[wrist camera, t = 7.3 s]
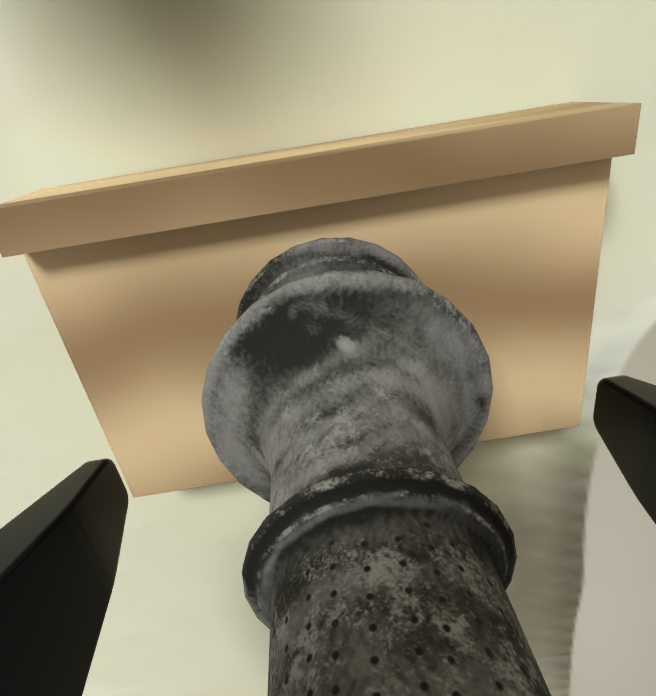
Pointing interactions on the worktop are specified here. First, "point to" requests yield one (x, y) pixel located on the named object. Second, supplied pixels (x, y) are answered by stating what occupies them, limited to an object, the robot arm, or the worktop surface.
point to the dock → (327, 222)
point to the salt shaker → (366, 481)
